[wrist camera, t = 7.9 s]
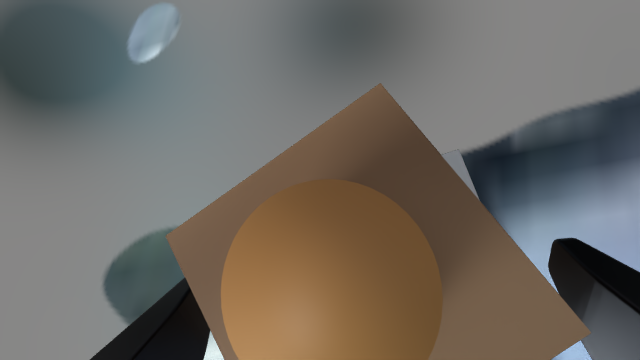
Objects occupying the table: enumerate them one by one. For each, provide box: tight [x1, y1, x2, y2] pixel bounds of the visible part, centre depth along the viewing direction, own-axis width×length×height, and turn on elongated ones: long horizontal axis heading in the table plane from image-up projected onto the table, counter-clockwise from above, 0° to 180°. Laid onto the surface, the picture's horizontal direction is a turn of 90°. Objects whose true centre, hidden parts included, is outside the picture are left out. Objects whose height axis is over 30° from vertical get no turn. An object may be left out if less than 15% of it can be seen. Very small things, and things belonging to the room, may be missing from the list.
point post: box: [166, 83, 591, 360], centre depth 9 cm, size 4×4×14 cm
